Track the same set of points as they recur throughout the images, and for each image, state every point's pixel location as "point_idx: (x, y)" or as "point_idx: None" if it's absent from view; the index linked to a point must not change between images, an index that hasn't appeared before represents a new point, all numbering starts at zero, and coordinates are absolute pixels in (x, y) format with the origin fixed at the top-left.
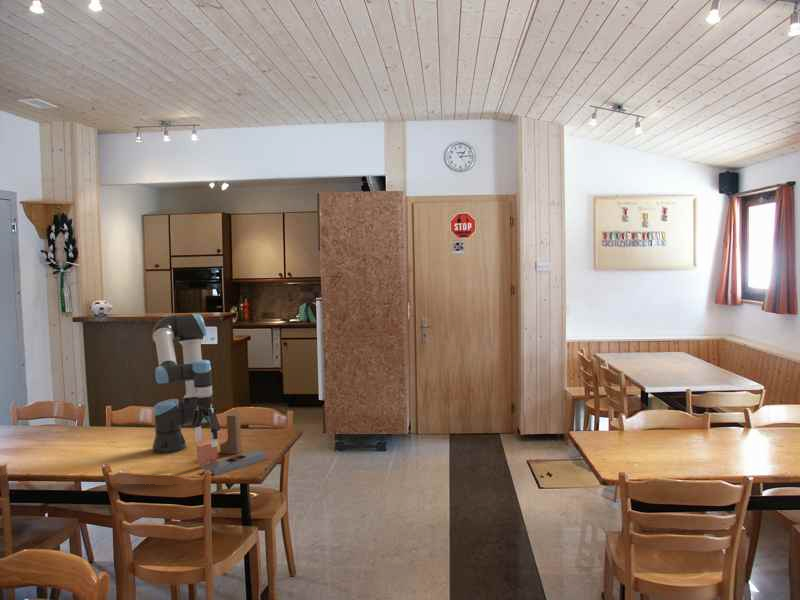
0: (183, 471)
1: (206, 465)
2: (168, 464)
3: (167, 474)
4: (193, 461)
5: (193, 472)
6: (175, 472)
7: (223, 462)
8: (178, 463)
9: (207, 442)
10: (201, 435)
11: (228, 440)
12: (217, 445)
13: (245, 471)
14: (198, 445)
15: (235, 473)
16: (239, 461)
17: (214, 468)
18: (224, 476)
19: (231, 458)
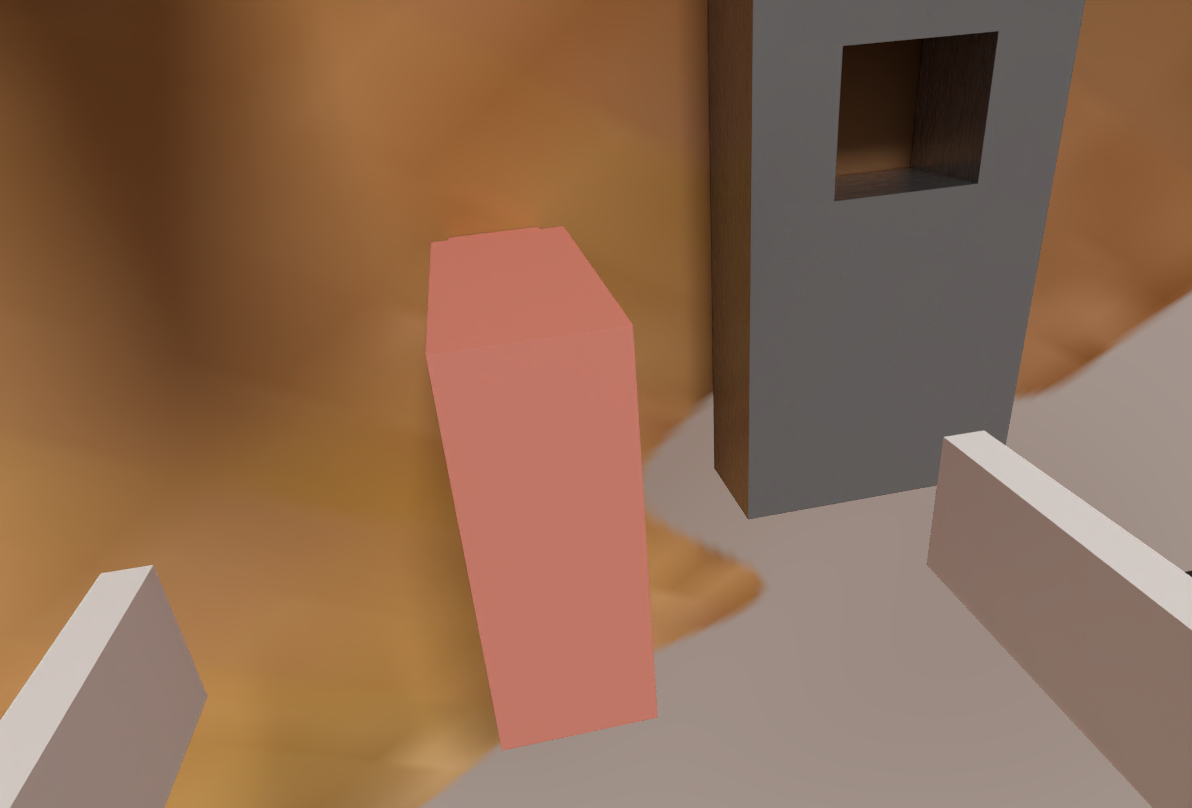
0: None
1: (798, 503)
2: None
3: (450, 777)
4: (89, 437)
5: None
6: (447, 709)
7: (902, 271)
8: (49, 619)
9: (477, 521)
10: (85, 698)
11: None
12: (986, 449)
13: (1185, 54)
14: (564, 726)
15: (1113, 201)
16: (1074, 24)
17: None
18: (1067, 351)
19: (840, 59)
